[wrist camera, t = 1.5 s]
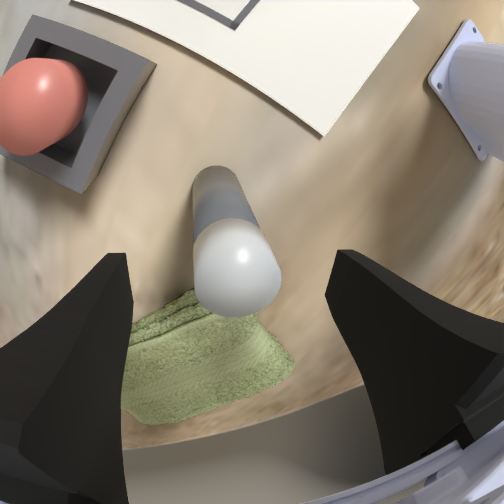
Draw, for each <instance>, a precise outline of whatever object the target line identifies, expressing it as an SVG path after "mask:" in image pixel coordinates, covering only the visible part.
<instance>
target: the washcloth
mask: <svg viewBox="0 0 504 504" xmlns="http://www.w3.org/2000/svg"><path fill="white" fill-rule="evenodd" d="M275 337H276V336H274V335H273V334H271V333H270V332H269V331H267V330H266V329H265V328H264V326H263V325H262V324H261V322H259V320H258V315H257V313H254V314H251V315H248V316H244V317H234V318H231V317H223V316H219V315H216V314H214V313H212V312H210V311H208V310H207V309H206V308H204V307H203V306H202V305H201V303H200V302H199V301H198V299H197V297H196V294H195V288H194V289H193V290H190V291H186V292H185V293H184V294H183V295H182V297H180V298H178V299H176V300H173V301H172V302H170V303H168V304H166V305H165V306H164V307H163V308H162V309H160V310H158V311H153V312H152V313H150V314H149V315H147V316H145V317H143V318H141V319H140V320H139V321H138V322H136V323H133V324H132V329H131V335H130V340H129V346H128V351H127V357H126V363H125V369H124V375H123V382H122V391H121V409H122V410H125V411H128V412H129V413H131V414H132V415H133V416H134V417H136V418H137V419H138V421H139V422H140V423H142V424H147V425H159V424H167V423H172V422H175V423H177V422H180V421H183V420H185V419H189V418H190V417H193V416H196V415H199V414H202V413H205V412H209V411H210V410H214V409H216V408H218V407H219V406H222V405H225V404H227V403H230V402H234V401H236V400H240V399H243V398H249V397H251V395H254V394H255V393H259V392H262V391H263V390H265V389H268V388H271V387H273V386H276V385H277V384H279V383H280V381H283V379H285V378H287V377H288V376H289V375H291V374H292V372H293V370H294V369H295V367H296V363H295V361H294V360H293V357H291V356H290V355H289V354H288V352H287V351H286V350H284V349H283V346H282V345H281V344H279V341H278V339H276V338H275Z"/></svg>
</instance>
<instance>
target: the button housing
mask: <svg viewBox="0 0 504 504" xmlns="http://www.w3.org/2000/svg"><path fill="white" fill-rule="evenodd" d="M29 58H46V59H59V60H65V61H68V62H70V63H72V64H74V65H75V66H77V67H78V68H79V69H80V71H81V72H82V74H83V75H84V77H85V80H86V83H87V88H88V101H87V106H86V110H85V113H84V115H83V117H82V119H81V121H80V123H79V124H78V126H77V127H76V128H75V129H74V130H73V131H72V132H71V133H70V134H69V135H68V136H66V137H65V138H63V139H61V140H59V141H57V142H55V143H54V144H52V145H50V146H48V147H46V148H45V149H43V150H41V151H40V152H37V153H35V154H32V155H26V156H22V155H16V154H13V153H10V152H9V151H7V150H6V149H5V148H3V147H2V146H1V145H0V154H1V155H3V156H5V157H7V158H9V159H11V160H13V161H15V162H17V163H19V164H21V165H23V166H25V167H27V168H29V169H31V170H33V171H35V172H37V173H39V174H41V175H43V176H45V177H47V178H49V179H51V180H53V181H55V182H57V183H59V184H61V185H63V186H65V187H67V188H69V189H71V190H73V191H75V192H77V193H79V194H81V195H82V193H83V192H84V191H85V190H86V189H87V188H88V186H89V185H90V184H91V183H92V182H93V181H94V179H95V178H96V177H97V176H98V174H99V172H100V170H101V167H102V165H103V163H104V161H105V158H106V156H107V154H108V152H109V150H110V148H111V146H112V144H113V142H114V139H115V137H116V135H117V133H118V131H119V130H120V128H121V126H122V124H123V122H124V120H125V118H126V116H127V114H128V112H129V111H130V109H131V107H132V105H133V103H134V102H135V100H136V98H137V96H138V95H139V93H140V91H141V89H142V88H143V86H144V84H145V83H146V81H147V80H148V78H149V76H150V75H151V73H152V71H153V70H154V68H155V67H156V65H157V64H156V63H154V62H152V61H150V60H148V59H146V58H144V57H142V56H140V55H138V54H135V53H133V52H131V51H129V50H127V49H124V48H122V47H120V46H117V45H115V44H113V43H110V42H108V41H106V40H103V39H101V38H98V37H96V36H93V35H91V34H88V33H86V32H83V31H80V30H78V29H75V28H72V27H69V26H67V25H64V24H61V23H58V22H55V21H52V20H49V19H46V18H42V17H39V16H36V15H32V16H31V18H30V20H29V22H28V23H27V25H26V27H25V29H24V31H23V33H22V35H21V37H20V39H19V41H18V43H17V45H16V47H15V49H14V51H13V53H12V55H11V57H10V60H9V62H8V64H7V67H6V69H5V71H4V74H5V73H6V72H7V71H8V70H9V69H10V68H11V67H12V66H14V65H15V64H17V63H18V62H20V61H23V60H25V59H29ZM4 74H3V75H4Z"/></svg>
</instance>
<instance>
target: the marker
mask: <svg viewBox="0 0 504 504" xmlns="http://www.w3.org/2000/svg"><path fill="white" fill-rule="evenodd" d="M192 198H193V235H194V247H193V268H194V288H195V294H196V297H197V299H198V301H199V302H200V303H201V305H202V306H203V307H204V308H206V309H207V310H208V311H210V312H212V313H214V314H216V315H219V316H223V317H231V318H234V317H244V316H248V315H251V314H254V313H256V312H258V311H260V310H262V309H263V308H265V307H266V306H267V305H269V304H270V303H271V302H272V301H273V300H274V298H275V297H276V295H277V294H278V292H279V289H280V286H281V280H282V277H281V271H280V268H279V266H278V264H277V262H276V259H275V257H274V255H273V253H272V250H271V248H270V246H269V244H268V242H267V240H266V237H265V235H264V234H263V232H262V231H261V230H260V227H259V225H258V223H257V221H256V218H255V216H254V214H253V212H252V210H251V207H250V205H249V203H248V201H247V199H246V196H245V194H244V192H243V190H242V188H241V185H240V183H239V181H238V179H237V177H236V175H235V174H234V173H233V172H232V171H231V170H230V169H228V168H226V167H223V166H211V167H207V168H205V169H203V170H202V171H201V172H200V173H199V174H198V175H197V176H196V177H195V179H194V182H193V186H192Z"/></svg>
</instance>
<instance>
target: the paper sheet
mask: <svg viewBox="0 0 504 504" xmlns="http://www.w3.org/2000/svg"><path fill="white" fill-rule="evenodd" d="M73 1H76V2H80V3H83V4H86V5H89V6H92V7H94V8H97V9H100V10H103V11H105V12H108V13H111V14H113V15H116V16H118V17H121V18H123V19H126V20H128V21H131V22H133V23H135V24H138V25H140V26H142V27H144V28H147V29H149V30H151V31H153V32H155V33H158V34H160V35H162V36H164V37H166V38H168V39H170V40H172V41H174V42H176V43H178V44H180V45H182V46H184V47H186V48H188V49H190V50H192V51H193V52H195V53H197V54H199V55H201V56H203V57H204V58H206V59H208V60H210V61H212V62H213V63H215V64H217V65H219V66H220V67H222V68H224V69H225V70H227V71H229V72H230V73H232V74H234V75H235V76H237V77H239V78H240V79H242V80H244V81H245V82H247V83H248V84H250V85H251V86H253V87H255V88H256V89H258V90H259V91H261V92H262V93H264V94H265V95H267V96H268V97H270V98H271V99H273V100H274V101H276V102H277V103H279V104H280V105H281V106H283V107H284V108H286V109H287V110H289V111H290V112H291V113H293V114H294V115H296V116H297V117H298V118H300V119H301V120H302V121H304V122H305V123H306V124H308V125H309V126H310V127H312V128H313V129H314V130H316V131H317V132H318V133H320V134H321V135H322V136H325V135H326V134H327V132H328V131H329V130H330V128H331V127H332V126H333V124H334V123H335V121H336V120H337V119H338V117H339V116H340V115H341V113H342V112H343V111H344V109H345V108H346V107H347V105H348V104H349V102H350V101H351V100H352V98H353V97H354V96H355V94H356V93H357V92H358V90H359V89H360V88H361V86H362V85H363V84H364V82H365V81H366V79H367V78H368V77H369V75H370V74H371V73H372V71H373V70H374V69H375V67H376V66H377V65H378V63H379V62H380V61H381V59H382V58H383V57H384V55H385V54H386V53H387V51H388V50H389V49H390V47H391V46H392V45H393V43H394V42H395V41H396V39H397V38H398V37H399V35H400V34H401V33H402V31H403V30H404V29H405V27H406V26H407V25H408V23H409V22H410V21H411V19H412V18H413V17H414V15H415V14H416V13H417V11H418V10H419V9H420V8H419V7H418V6H417V5H416V4H415V3H414V2H413V1H412V0H73Z"/></svg>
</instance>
